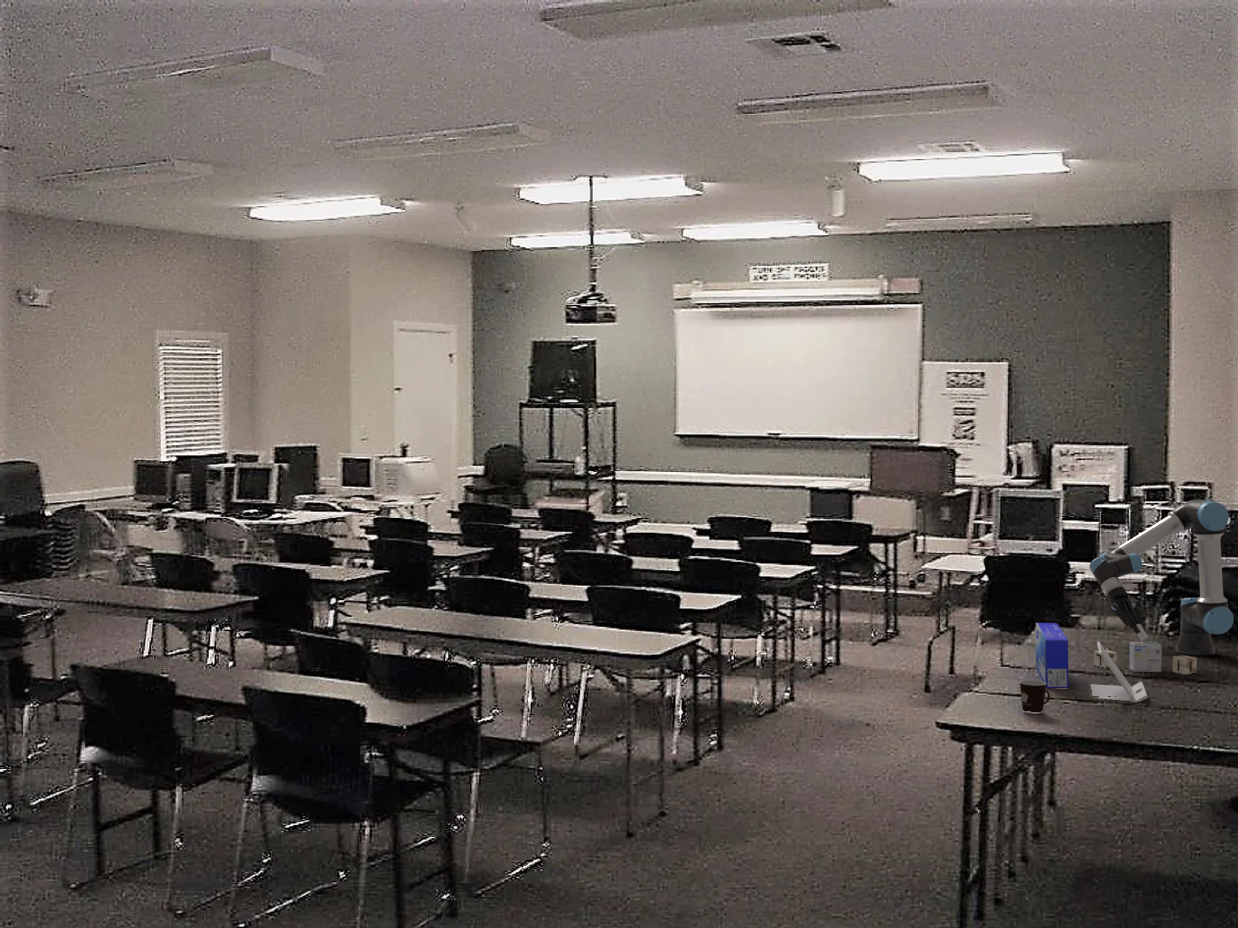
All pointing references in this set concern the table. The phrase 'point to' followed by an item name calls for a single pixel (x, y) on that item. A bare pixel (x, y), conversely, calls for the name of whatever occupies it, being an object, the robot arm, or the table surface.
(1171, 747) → the table surface
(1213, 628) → the robot arm
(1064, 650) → the toner cartridge box
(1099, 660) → the birch block seven
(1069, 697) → the table surface
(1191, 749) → the table surface
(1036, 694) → the coffee mug
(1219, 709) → the table surface
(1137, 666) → the light bulb box
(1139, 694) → the tablet stand
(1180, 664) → the birch block one
